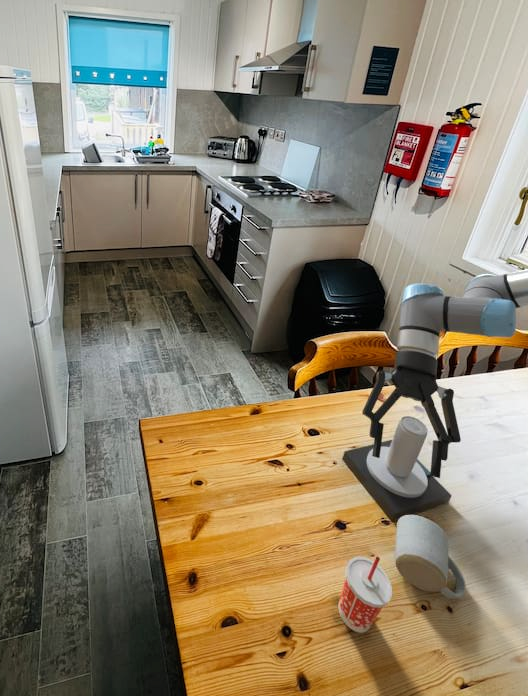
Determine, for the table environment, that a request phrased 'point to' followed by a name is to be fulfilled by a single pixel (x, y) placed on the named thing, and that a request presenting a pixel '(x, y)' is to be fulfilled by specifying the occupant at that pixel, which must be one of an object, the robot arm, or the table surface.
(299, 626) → the table surface
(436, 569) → the ceramic mug
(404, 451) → the beverage can
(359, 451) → the kitchen scale
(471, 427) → the table surface
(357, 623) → the beverage cup
